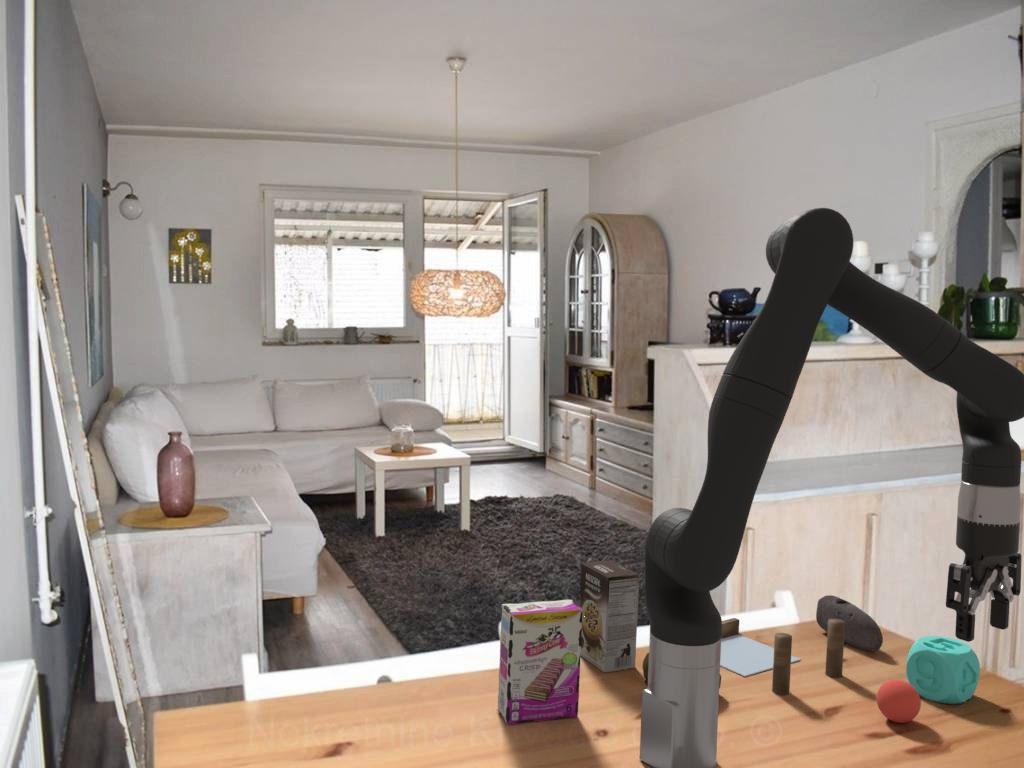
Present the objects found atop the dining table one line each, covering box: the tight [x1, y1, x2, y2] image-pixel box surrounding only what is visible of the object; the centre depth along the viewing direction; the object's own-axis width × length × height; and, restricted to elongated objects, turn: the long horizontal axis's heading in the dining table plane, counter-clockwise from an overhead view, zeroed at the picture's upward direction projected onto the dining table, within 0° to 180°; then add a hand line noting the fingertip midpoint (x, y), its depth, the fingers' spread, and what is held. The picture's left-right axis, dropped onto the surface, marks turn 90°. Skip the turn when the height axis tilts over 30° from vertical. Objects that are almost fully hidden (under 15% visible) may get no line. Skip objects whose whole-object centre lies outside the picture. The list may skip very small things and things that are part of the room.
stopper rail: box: [721, 617, 740, 638], centre depth 169 cm, size 16×1×2 cm, turn 124°
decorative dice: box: [905, 635, 981, 704], centre depth 147 cm, size 8×8×8 cm
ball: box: [876, 678, 922, 724], centre depth 137 cm, size 6×6×6 cm
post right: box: [824, 619, 845, 679], centre depth 154 cm, size 3×3×9 cm
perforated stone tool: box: [815, 595, 884, 652], centre depth 169 cm, size 15×5×7 cm, turn 19°
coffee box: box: [579, 559, 640, 673], centre depth 157 cm, size 9×6×16 cm
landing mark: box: [720, 633, 802, 678], centre depth 162 cm, size 14×14×1 cm
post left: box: [771, 632, 793, 696], centre depth 146 cm, size 3×3×9 cm
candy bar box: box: [497, 599, 583, 725], centre depth 136 cm, size 11×5×16 cm, turn 108°
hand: (982, 633), depth 126 cm, fingers open, 8 cm apart
